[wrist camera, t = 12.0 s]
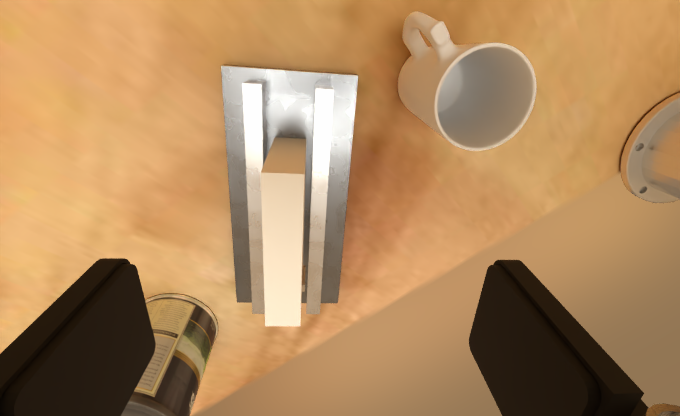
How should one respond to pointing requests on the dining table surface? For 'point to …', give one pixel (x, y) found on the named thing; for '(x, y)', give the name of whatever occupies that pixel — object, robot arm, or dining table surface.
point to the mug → (465, 85)
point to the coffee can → (174, 356)
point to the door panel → (283, 230)
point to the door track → (320, 178)
